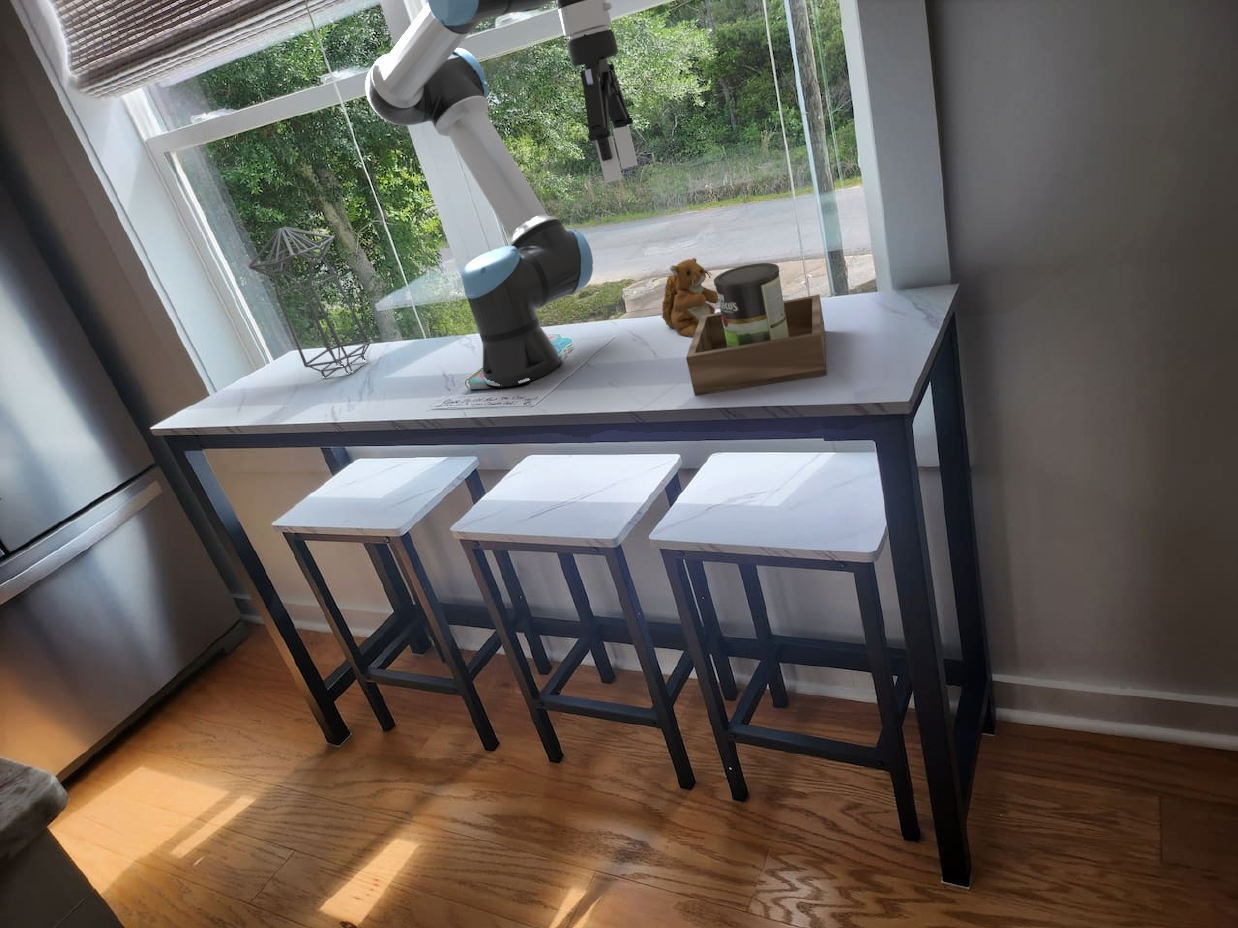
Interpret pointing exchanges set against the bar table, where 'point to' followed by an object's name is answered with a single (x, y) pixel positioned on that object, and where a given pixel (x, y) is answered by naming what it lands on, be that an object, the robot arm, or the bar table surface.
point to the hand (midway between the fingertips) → (622, 174)
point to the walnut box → (759, 352)
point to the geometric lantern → (294, 235)
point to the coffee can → (751, 304)
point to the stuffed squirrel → (687, 297)
